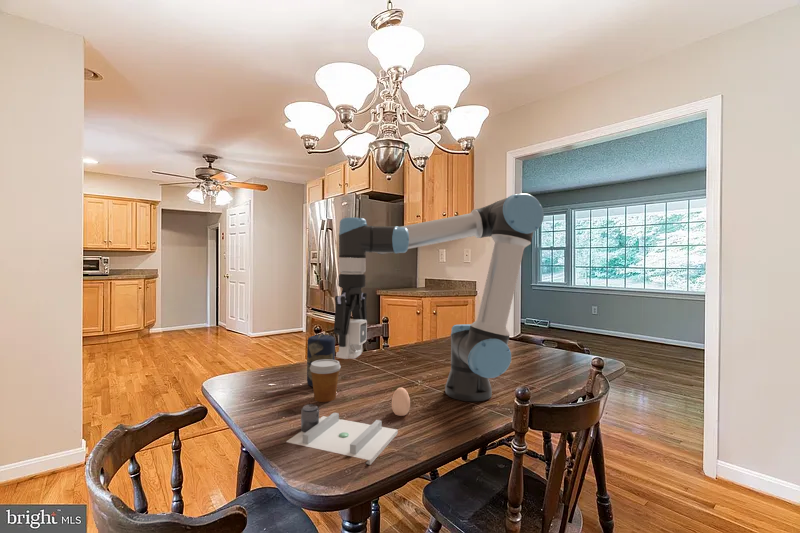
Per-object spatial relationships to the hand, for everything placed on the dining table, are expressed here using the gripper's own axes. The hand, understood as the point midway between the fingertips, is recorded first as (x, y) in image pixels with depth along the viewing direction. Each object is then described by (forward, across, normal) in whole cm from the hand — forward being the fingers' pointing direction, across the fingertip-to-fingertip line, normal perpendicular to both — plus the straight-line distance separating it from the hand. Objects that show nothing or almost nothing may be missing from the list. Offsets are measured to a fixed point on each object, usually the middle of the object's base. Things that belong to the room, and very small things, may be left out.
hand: (350, 354), depth 106 cm
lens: (+16, +13, -4) cm, 21 cm away
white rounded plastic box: (0, 0, 0) cm, 0 cm away
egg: (+17, -6, +13) cm, 23 cm away
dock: (+17, +13, +6) cm, 22 cm away
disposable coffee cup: (+18, -7, -13) cm, 23 cm away
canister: (+18, -19, -23) cm, 35 cm away
